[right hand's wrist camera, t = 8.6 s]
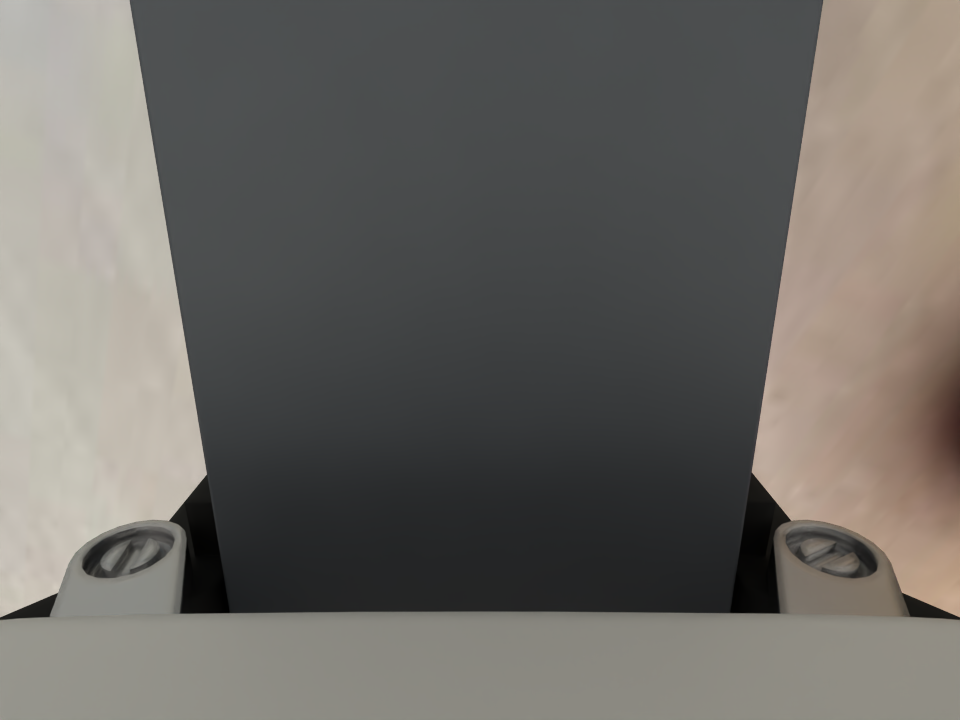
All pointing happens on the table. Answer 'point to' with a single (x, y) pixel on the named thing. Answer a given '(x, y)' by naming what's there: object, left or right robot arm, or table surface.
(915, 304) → the table surface
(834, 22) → the table surface
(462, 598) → the post
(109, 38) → the table surface
